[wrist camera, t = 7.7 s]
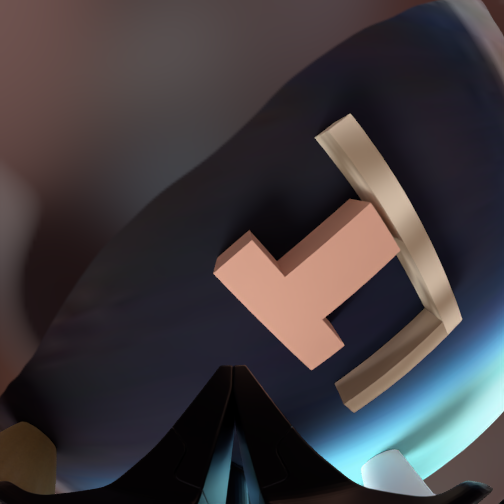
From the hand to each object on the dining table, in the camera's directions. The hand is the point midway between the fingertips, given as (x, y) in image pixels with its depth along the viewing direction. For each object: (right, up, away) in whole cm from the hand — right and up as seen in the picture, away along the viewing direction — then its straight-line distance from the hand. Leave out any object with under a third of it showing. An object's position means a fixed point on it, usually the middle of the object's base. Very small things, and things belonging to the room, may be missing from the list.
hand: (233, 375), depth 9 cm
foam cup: (+20, -27, +20) cm, 39 cm away
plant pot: (-33, -25, +17) cm, 44 cm away
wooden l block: (+8, +1, +12) cm, 14 cm away
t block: (+5, +3, +12) cm, 13 cm away
